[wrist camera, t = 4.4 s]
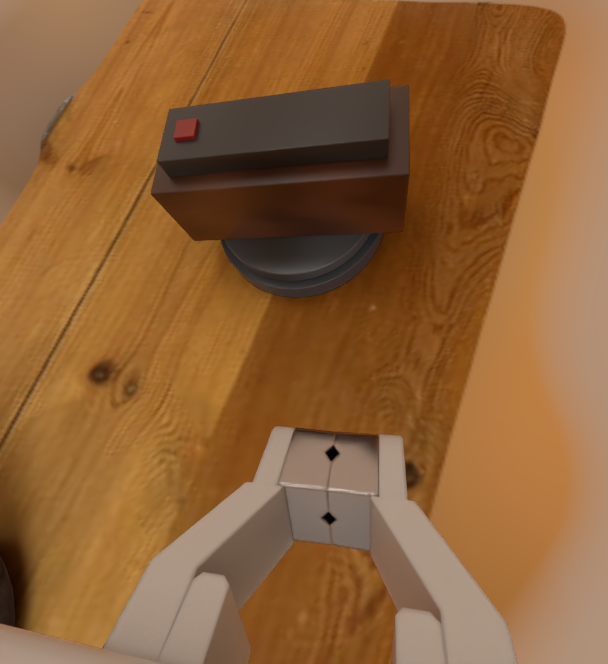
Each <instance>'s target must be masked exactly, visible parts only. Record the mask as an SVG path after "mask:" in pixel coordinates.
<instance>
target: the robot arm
mask: <svg viewBox="0 0 608 664" xmlns="http://www.w3.org/2000/svg"><path fill="white" fill-rule="evenodd" d="M293 540H295V541H303V542H312V543H320V544H329V545H335V546H341V547H346V548H352V549H358V550H363V551H369V552H370V555H371V557H372V559H373V561H374V563H375V565H376V567H377V569H378V571H379V574H380V576H381V578H382V580H383V582H384V584H385V586H386V588H387V590H388V592H389V595H390V597H391V599H392V601H393V603H394V605H395V607H396V609H397V611H398V613H397V614H396V615H395V624H394V636H393V647H392V659H391V664H518V662H517V658H516V654H515V651H514V647H513V643H512V639H511V635H510V632H509V628H508V624H507V622H506V621H505V620H504V619H503V617H502V616H501V614H500V613H499V612H498V610H497V609H496V608H495V607H494V605H493V604H492V603H491V601H490V600H489V599H488V597H487V596H486V595H485V593H484V592H483V591H482V589H481V588H480V587H479V585H478V584H477V583H476V581H475V580H474V579H473V578H472V576H471V575H470V573H469V572H468V571H467V569H466V568H465V567H464V565H463V564H462V563H461V561H460V560H459V559H458V558H457V556H456V555H455V554H454V552H453V551H452V549H451V548H450V547H449V546H448V544H447V543H446V542H445V540H444V539H443V538H442V536H441V535H440V534H439V532H438V531H437V530H436V528H435V527H434V526H433V524H432V523H431V522H430V520H429V519H428V518H427V516H426V515H425V514H424V512H423V511H422V510H421V508H420V507H419V506H418V504H417V503H416V502H415V501H410V500H408V499H407V486H406V472H405V459H404V446H403V438H402V436H396V435H381V434H366V433H351V432H333V431H323V430H314V429H304V428H290V427H281V426H276V427H275V428H274V429H273V430H272V432H271V435H270V437H269V440H268V443H267V445H266V448H265V451H264V453H263V456H262V459H261V461H260V464H259V467H258V469H257V472H256V475H255V477H254V480H253V482H246V483H244V484H243V485H242V486H241V487H239V488H238V489H237V490H236V491H235V492H233V493H232V494H231V495H230V496H228V497H227V498H226V499H225V500H224V501H222V502H221V503H220V504H219V505H218V506H216V507H215V508H214V509H213V510H211V511H210V512H209V513H208V514H207V515H205V516H204V517H203V518H202V519H200V520H199V521H198V522H197V523H196V524H194V525H193V526H192V527H191V528H189V529H188V530H187V531H186V532H185V533H183V534H182V535H181V536H180V537H178V538H177V539H176V540H175V541H174V542H172V543H171V544H170V545H169V546H167V547H166V548H165V549H164V550H163V551H161V552H160V553H159V554H158V555H156V556H155V557H154V558H153V559H152V560H151V561H150V563H149V565H148V566H147V568H146V570H145V572H144V574H143V575H142V577H141V579H140V581H139V583H138V585H137V586H136V588H135V590H134V592H133V594H132V595H131V597H130V599H129V601H128V603H127V605H126V606H125V608H124V610H123V612H122V614H121V615H120V617H119V619H118V621H117V623H116V625H115V626H114V628H113V630H112V632H111V634H110V635H109V637H108V639H107V641H106V643H105V645H104V646H103V648H98V647H94V646H90V645H86V644H82V643H78V642H74V641H70V640H65V639H61V638H57V637H53V636H49V635H45V634H41V633H37V632H33V631H29V630H24V629H20V628H16V627H12V626H8V625H4V624H0V664H248V661H249V657H250V653H251V646H250V643H249V640H248V637H247V634H246V632H245V629H244V626H243V623H242V620H241V617H240V614H239V611H240V610H241V608H242V607H243V606H244V605H245V603H246V602H247V601H248V600H249V598H250V597H251V596H252V594H253V593H254V592H255V591H256V589H257V588H258V587H259V586H260V584H261V583H262V582H263V581H264V579H265V578H266V577H267V576H268V574H269V573H270V572H271V571H272V569H273V568H274V567H275V566H276V564H277V563H278V562H279V561H280V559H281V558H282V557H283V555H284V554H285V553H286V552H287V550H288V549H289V548H290V547H291V545H292V544H293Z"/></svg>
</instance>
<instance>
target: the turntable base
mask: <svg viewBox="0 0 608 664" xmlns="http://www.w3.org/2000/svg"><path fill="white" fill-rule="evenodd" d="M382 237H383V233H370V235H369V237H368V239H367V240H366V242H365V243H364V244H363V246H362V247H361V248H360V250H359V251H358V252H357V253H356V254H355V255H354V256H353V257H352V258H350V259H349V260H348V261H347V262H345V263H344V264H343V265H341V266H339V267H338V268H336V269H334V270H333V271H330V272H328V273H326V274H324V275H321V276H318V277H315V278H311V279H306V280H299V281H280V280H275V279H270V278H267V277H264V276H261V275H259V274H257V273H255V272H253V271H251V270H250V269H248V268H247V267H245V266H244V265H243V264H242V263H241V262H240V261H239V260H238V259H237V257H236V256H235V255H234V254H233V252H232V251H231V250H230V249H229V247H228V245H227V244H226V242H225V240H221V242H222V245H223V248H224V251H225V253H226V255H227V256H228V258H229V260H230V261H231V263H232V264H233V265H234V266H235V268H236V269H237V270H238V271H239V272H240V274H241V275H242V276H243V277H244V278H245V279H246V280H247V281H248V282H250V283H251V284H253V285H254V286H255V287H257V288H259V289H261V290H263V291H265V292H268V293H271V294H274V295H278V296H283V297H308V296H314V295H319V294H322V293H325V292H328V291H331V290H333V289H335V288H337V287H339V286H341V285H343V284H344V283H346V282H348V281H349V280H351V279H352V278H353V277H354V276H356V275H357V274H358V273H359V272H360V271H361V270H362V269H363V268H364V267H365V266H366V265H367V264H368V263H369V261H370V260H371V259H372V257H373V256H374V254H375V252H376V251H377V249H378V247H379V245H380V242H381V240H382Z"/></svg>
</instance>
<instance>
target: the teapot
mask: <svg viewBox="0 0 608 664" xmlns="http://www.w3.org/2000/svg"><path fill="white" fill-rule="evenodd" d="M0 624H4V625H8V626H12V627H15V609H14V596H13V587H12V584H11V581H10V578H9V575H8V572H7V569H6V567H5V564H4V562H3V560H2V558H1V556H0Z"/></svg>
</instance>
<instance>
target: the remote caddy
mask: <svg viewBox="0 0 608 664" xmlns="http://www.w3.org/2000/svg"><path fill="white" fill-rule="evenodd" d="M157 163H158V165H157V169H156V173H155V177H154V182H153V186H152V190H151V195H152V196H153V197H154V198H155V199H156V200H157V201H158V202H159V203H160V204H161V206H162V207H163V208H164V209H165V210H166V211H167V212H168V213H169V214H170V215H171V216H172V217H173V218H174V219H175V221H176V222H177V223H178V224H179V225H180V226H181V227H182V228H183V229H184V230H185V231H186V232H187V233H188V234H189V236H190V237H191V238H192V239H193V240H194V241H203V240H225V242H226V244H227V245H228V247H229V249H230V250H231V251H232V252H233V254H234V255H235V256H236V257H237V259H238V260H239V261H240V262H241V263H242V264H243V265H244V266H245V267H247V268H248V269H250V270H251V271H253V272H255V273H257V274H259V275H261V276H264V277H267V278H270V279H275V280H280V281H299V280H306V279H311V278H315V277H318V276H321V275H324V274H326V273H328V272H330V271H333V270H334V269H336V268H338V267H339V266H341V265H343V264H344V263H345V262H347V261H348V260H349V259H350V258H352V257H353V256H354V255H355V254H356V253H357V252H358V251H359V250H360V248H361V247H362V246H363V244H364V243H365V242H366V240H367V239H368V237H369V235H370V233H388V232H402V231H403V225H404V217H405V208H406V200H407V192H408V184H409V175H410V149H409V86H408V85H404V86H397V87H390V80H382V81H374V82H367V83H359V84H352V85H345V86H337V87H330V88H323V89H315V90H308V91H301V92H293V93H286V94H278V95H271V96H264V97H256V98H249V99H242V100H234V101H227V102H220V103H212V104H205V105H197V106H190V107H183V108H175V109H169V112H168V116H167V121H166V125H165V129H164V133H163V137H162V142H161V146H160V150H159V154H158V159H157Z"/></svg>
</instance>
